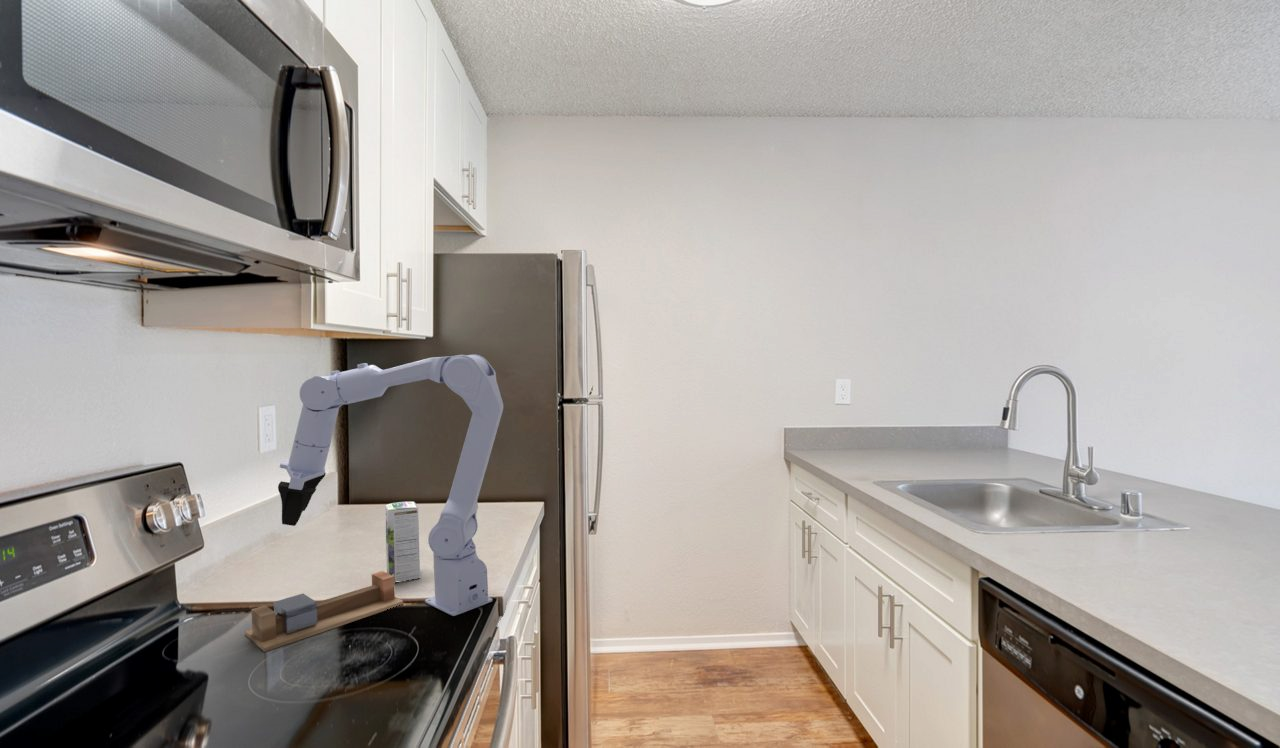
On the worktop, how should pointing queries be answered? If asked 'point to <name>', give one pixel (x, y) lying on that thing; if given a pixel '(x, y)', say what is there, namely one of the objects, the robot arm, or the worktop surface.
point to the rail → (325, 613)
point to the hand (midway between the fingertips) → (293, 516)
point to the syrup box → (402, 541)
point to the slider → (296, 612)
